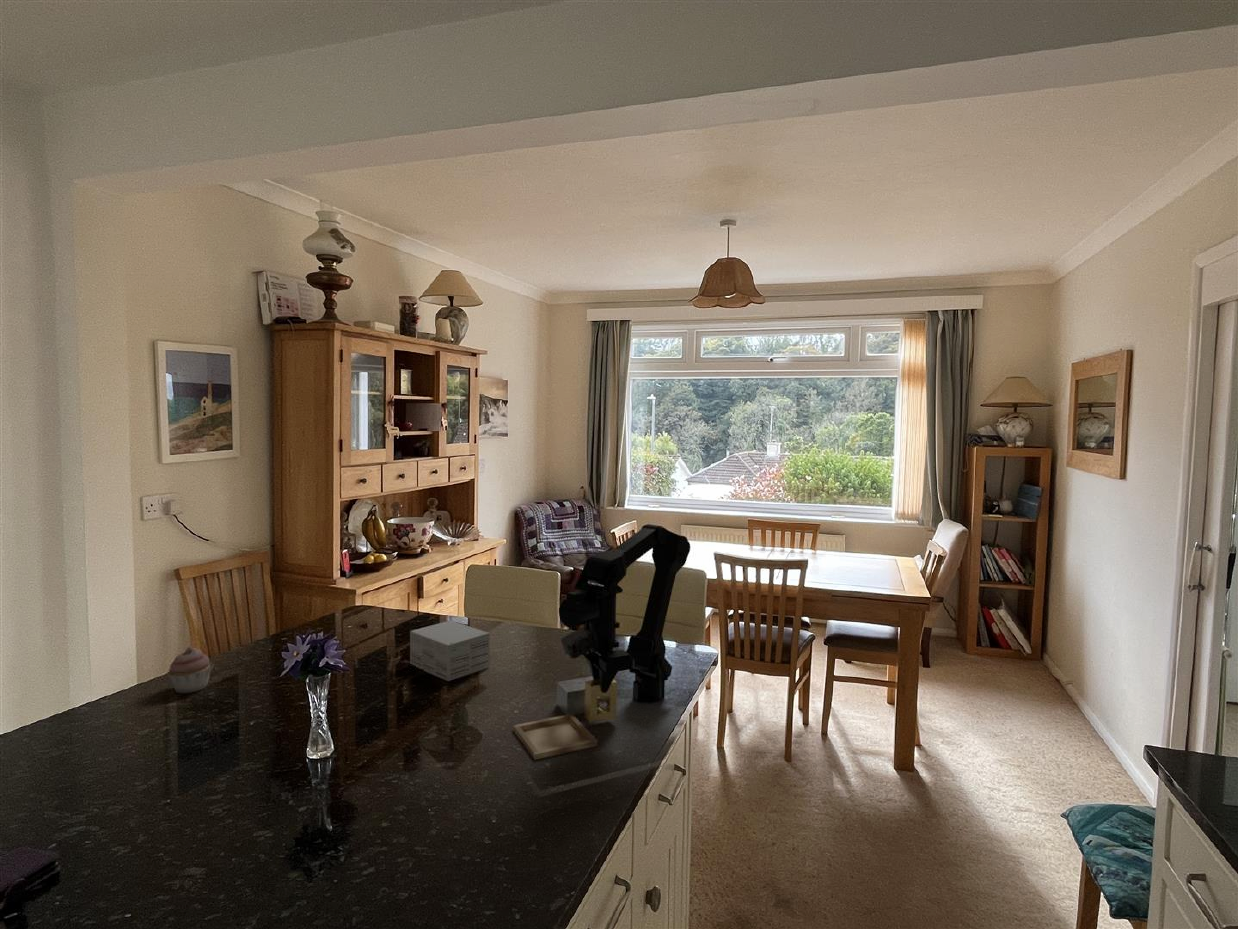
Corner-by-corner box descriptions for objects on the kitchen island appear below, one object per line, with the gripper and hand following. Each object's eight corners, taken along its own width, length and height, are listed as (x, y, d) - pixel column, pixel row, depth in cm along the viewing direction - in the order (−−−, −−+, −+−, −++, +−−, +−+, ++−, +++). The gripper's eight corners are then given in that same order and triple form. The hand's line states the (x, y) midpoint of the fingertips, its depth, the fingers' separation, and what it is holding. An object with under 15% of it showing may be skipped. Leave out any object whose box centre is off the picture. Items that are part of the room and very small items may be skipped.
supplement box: (490, 668, 172) (490, 632, 172) (448, 682, 162) (448, 645, 162) (451, 652, 183) (451, 619, 182) (409, 665, 173) (409, 630, 172)
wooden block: (610, 711, 143) (610, 676, 142) (616, 717, 140) (616, 682, 139) (584, 716, 140) (585, 681, 139) (590, 722, 137) (590, 686, 137)
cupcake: (157, 692, 153) (156, 650, 152) (196, 678, 162) (195, 638, 161) (185, 699, 149) (183, 656, 149) (223, 684, 158) (222, 643, 157)
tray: (571, 721, 142) (571, 713, 142) (597, 749, 131) (597, 740, 131) (513, 733, 136) (513, 725, 136) (534, 763, 125) (534, 754, 125)
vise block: (598, 699, 154) (598, 674, 154) (627, 725, 141) (627, 698, 141) (553, 707, 149) (554, 681, 149) (579, 736, 136) (580, 707, 136)
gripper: (550, 608, 143) (549, 679, 144) (584, 635, 126) (583, 714, 128) (597, 603, 148) (595, 671, 149) (636, 627, 131) (634, 704, 133)
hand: (600, 689), depth 139 cm, fingers closed on wooden block, 3 cm apart
